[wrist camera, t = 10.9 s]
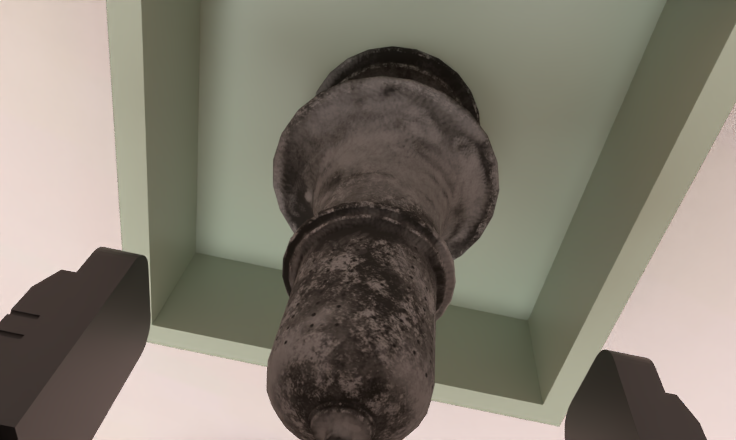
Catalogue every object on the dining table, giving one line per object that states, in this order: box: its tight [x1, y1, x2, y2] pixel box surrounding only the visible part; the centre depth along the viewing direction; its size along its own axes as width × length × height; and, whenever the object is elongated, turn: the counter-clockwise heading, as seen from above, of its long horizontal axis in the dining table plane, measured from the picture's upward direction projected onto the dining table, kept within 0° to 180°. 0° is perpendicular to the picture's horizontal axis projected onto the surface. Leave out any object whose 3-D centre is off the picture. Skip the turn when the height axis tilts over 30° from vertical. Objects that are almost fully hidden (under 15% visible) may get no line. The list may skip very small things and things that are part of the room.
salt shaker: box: [267, 46, 499, 440], centre depth 13 cm, size 6×6×12 cm
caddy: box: [106, 0, 736, 426], centre depth 17 cm, size 14×14×4 cm
